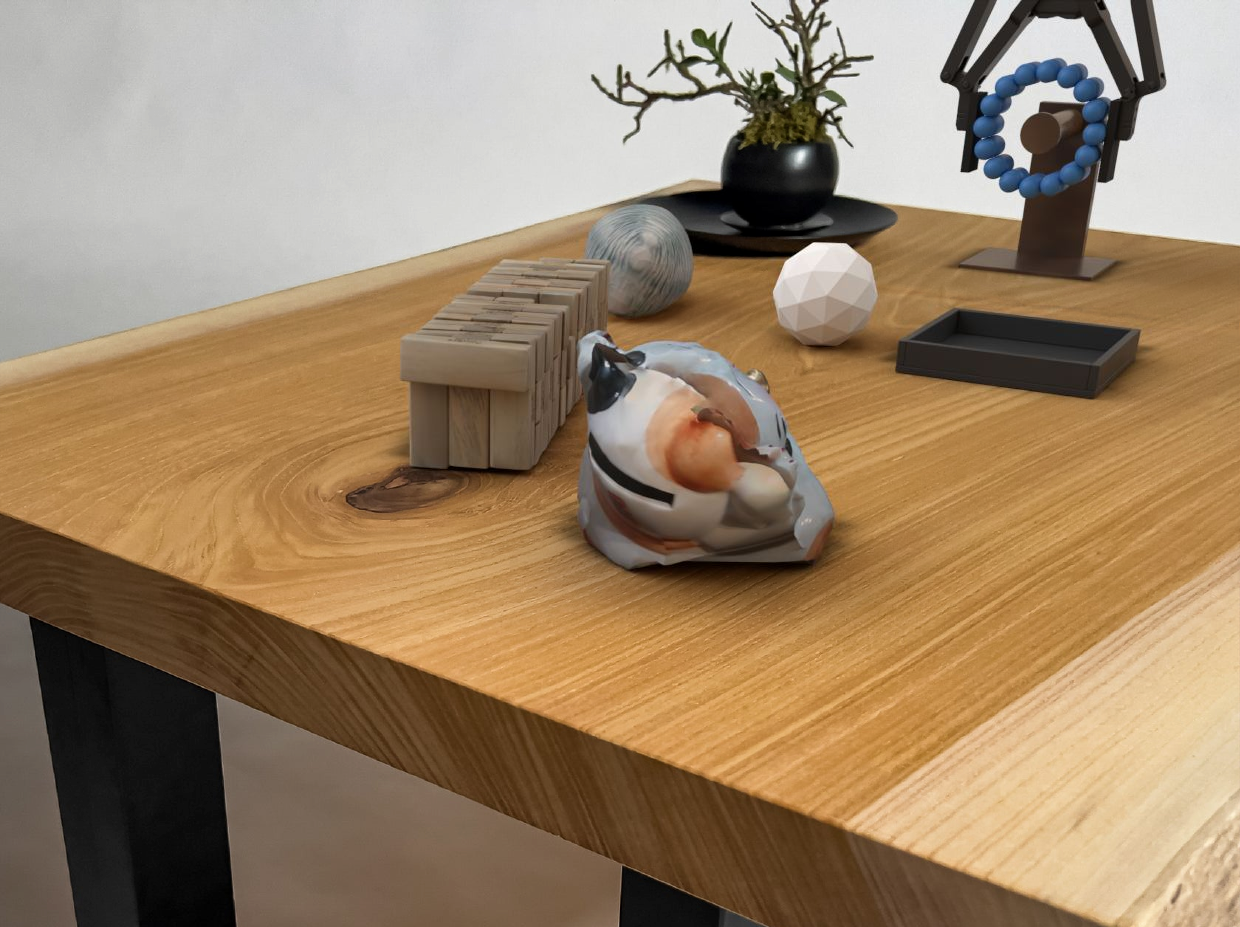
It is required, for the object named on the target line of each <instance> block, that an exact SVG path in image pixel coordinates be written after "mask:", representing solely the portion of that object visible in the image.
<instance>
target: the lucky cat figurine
mask: <svg viewBox="0 0 1240 927" xmlns="http://www.w3.org/2000/svg"><path fill="white" fill-rule="evenodd" d="M577 352H578V354H579V358H578V365H577V370H578V376H579V379H580V382H581V384H582V386H583V395H584V396H583V398H584V403H585V405H586V422H587V423H586V425H587V444H586V445H585V448H584V451H583V453H582V455H581V459H580V467H579V474H578V480H577V496H576V498H577V500H578V511H577V515H576V519H577V522H578V525H579V529H580V533H581V534H580V535H581V538H582V540H583V541H585V542H587V543H588V544H590V545H591V546H592V547H593V548H595V549H596V550H598V551H599V552H601V553H602V554H603V555H605V556H606V557H607V558H608V559H609V560H611V561H612V562H613V563H615V564H617V565H618V566H621V567H623V568H624V569H625V570H634V569H639V568H644V567H649V566H653V565H659V564H660V565H663V566H669V565H673V564H678V563H681V562H732V563H733V562H734V563H735V562H738V563H791V564H807V565H812V566H813V565H815V564H816V563H817V561H818V560H819V558H820V555H821V554H822V550H823V548H824V546H825V543H826V542H827V540H828V538H829V537H830V534H831V533H832V531H833V529H834V521H835V510H834V507H833V504H832V502H831V499H830V498H829V495H828V493H827V491H826V489H825V487H824V486H823V484H822V482H821V481H820V480H819V478H818V477H817V476H816V475H815V474H814V472H813V470H811V469H812V468H811V467H810V466H809V464H808V463H807V461H806V458H805V455H804V454H803V452H802V449H801V446H799V444H798V442H797V440H796V438H795V437H794V436H793V435H792V434H791V432H790V430H789V425H788V421H787V419H786V417H785V416H784V413H783V411H782V409H781V408H780V406H779V405H778V404H777V403H776V401H775V400H774V399H773V398H772V397H771V395H770V393H771V392H770V391H771V389H770V388H771V387H770V385H769V380H768V379H767V378H766V376H765V374H764V373H763V371H761V370H759V369H757V368H751V369H748V370H745V371H743V372H742V370H740V369H739V368H738V367H737V366H736V364H735V363H733V362H730V361H729V360H728V359H727V358H726V357H724V356H723V355H721V353H720V352H719V351H715V350H710V349H707V348H706V347H704V346H702V345H701V344H700V343H698V342H693V341H690V342H688V341H676V340H656V341H654V340H653V341H649V342H645V343H643V344H639V345H636V346H634V347H633V348H631V349H629V350H623V349H621V348H619V347H618V346H617V345H616V343H615V341H614V340H613V338H612V336H611V334H610V333H609V332H608V331H607V332H603V331H600V330H598V331H595V332H593V333H590V334H588V335H586V336H585V337H583V338H582V339H581V340H578V343H577Z"/></svg>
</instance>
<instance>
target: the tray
mask: <svg viewBox="0 0 1240 927" xmlns="http://www.w3.org/2000/svg"><path fill="white" fill-rule="evenodd" d="M1141 331H1142V329H1141V328H1132V327H1124V326H1118V325H1117V326H1116V325H1109V324H1108V325H1107V324H1100V323H1098V324H1097V323H1090V322H1081V321H1073V320H1063V319H1054V318H1046V317H1045V318H1044V317H1038V316H1029V315H1022V314H1021V315H1020V314H1012V313H1005V312H1004V313H1002V312H996V311H995V312H993V311H985V310H976V309H967V308H960V307H952V308H951V309H949V310H948V311H946V312H944V313H943V314H941V315H939V316H937V317H935V318H934V319H933V320H931V321H929V322H927V323H926V324H924V325H921V326H920V327H919V328H917V329H916V330H914V331H912V332H911V333H908V334H907V335H906V336H904V337H902V338H901V339H899V340H898V342H897V343H898V344H897V351H896V360H895V368H894V372H895V373H902V374H908V375H915V376H923V377H931V378H938V379H944V380H953V381H960V382H968V383H974V384H981V385H990V386H995V387H996V386H997V387H1004V388H1011V389H1019V390H1026V391H1033V392H1041V393H1048V394H1055V395H1063V396H1069V397H1070V396H1071V397H1075V398H1076V397H1077V398H1085V399H1092V400H1095V398H1096V397H1098V395H1100V394H1101V393H1102V392H1103V391H1104V390H1105V389H1106V388H1107V387H1108V386H1109V385H1110V384H1112V383H1113V381H1114V380H1115V379H1116V378H1118V377H1119V376H1120V375H1121V374H1122V373H1123V372H1124V371H1125V370H1126V369H1127V368H1128V367H1129V366H1130V365H1131V364H1133V363H1134V362H1135V361H1136V358H1137V353H1138V348H1139V342H1140V337H1141Z"/></svg>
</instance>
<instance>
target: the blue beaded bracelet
mask: <svg viewBox="0 0 1240 927" xmlns="http://www.w3.org/2000/svg"><path fill="white" fill-rule="evenodd" d="M1088 76H1089V70H1088V67H1087V66H1086V65H1085V64H1083V63H1079V62H1078V63H1073V64H1069V65H1068V63H1067V61H1066V60H1065V59H1064V58H1061V57H1054V58H1050V59H1046V60H1043V61H1042V62H1040V61H1037V60H1036V61H1035V60H1034V61H1031V62H1027V63H1023V64H1020V65H1019V66H1018V67H1017V68H1016V69H1015V71H1014V73H1010V74H1007V75H1003V76H1001V77H1000V78H998V79H997V81H996V82H995V84H994V92H993V93H990V94H988V95H987V96H986V97H984V99H983V100H982V102H981V105H980V108H981V111H982V113H983V114H984V115H985V116H983V117H980V118H979V119H977V120H976V122H975V123H974V127H973V130H974V133H975V135H976V136H977V137H979V138H982V139H981V140H980V141H978V143H977V144H976V146H975V150H974V151H975V155H976V157H977V158H979V161H985V163H984V165H983V168H982V170H983V174H984V176H985V177H986V178H987V179H990V180H997V179H998V186H999V189H1000V190H1001V191H1002V192H1004V193H1007V194H1010V193H1014V192H1016V191H1018V193H1019V195H1020V196H1021V197H1022V198H1024V199H1025V198H1026V199H1031V198H1034V197H1036V196H1038V195H1040V194H1042V193H1043V194H1044V195H1046V196H1054V195H1056V194H1058V193H1060V192H1062V191H1064V190H1066V189H1067V188H1068V186H1069V185H1074V184H1076V183H1078V182H1080V181H1082V180H1084V179H1086V178H1087V177H1088V175H1089V173H1090V166H1092V165H1094V164H1096V163H1098V162H1101V156H1102V150H1103V144H1104V138H1105V135H1106V126H1107V120H1108V118H1107V117H1108V114H1109V108H1110V102H1111V101H1112V99H1111V98H1109V97H1108V96H1102V95H1103V93H1104V91H1105V83H1104V81H1103V79H1101V78H1100V77H1097V76H1091V77H1088ZM1053 82H1057V84H1058V86H1059V87H1060V88H1062V89H1066V90H1067V89H1072V88H1073V91H1072V95H1073V98H1074V100H1075V101H1076V102H1077V103H1086V104H1085V106H1084V107H1083V110H1082V115H1083V118H1084V119H1085V120H1086V121H1087V122H1091V123H1092V124H1090V125H1088V126H1087V127H1086V128H1085V130H1084V132H1083V139H1084V141H1085V142H1086V143H1087V145H1084V146H1082V147H1080V148H1079V149H1078V150H1077V152H1076V154H1075V161H1073V162H1071V163H1069V164H1067V165H1065V166H1064V167H1063V168H1062V169H1061V170H1059V171H1056V172H1054V173H1051V174H1049V175H1047V176H1046V175H1045V174H1043V173H1037V174H1034V175H1032V176H1029V170H1027V168H1025V167H1022V166H1018V167H1015V160H1014V158H1013V157H1012V156H1011V155H1010V154H1008V153H1003V152H1004V151H1005V149H1006V140H1005V139H1004V138H1003V137H1002V136H1001V135H998V134H1000V133H1001V132H1002V131H1003V130H1004V127H1005V119H1004V117H1003V115H1002V114H1004V113H1007V111H1009V110H1010V108H1011V106H1012V104H1013V103H1012V102H1013V101H1012V100H1013V99H1012V97H1016V96H1019V95H1020V94H1022V93H1023V92H1024V91H1025V89H1026V87H1028V86H1032V85H1036V84H1039V83H1043V84H1050V83H1053ZM1105 118H1107V120H1102V119H1105ZM1102 142H1103V144H1102ZM1014 167H1015V168H1014Z"/></svg>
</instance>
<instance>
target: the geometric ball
mask: <svg viewBox="0 0 1240 927" xmlns="http://www.w3.org/2000/svg"><path fill="white" fill-rule="evenodd" d="M781 268H782V269H781V270H780V273H779V276H778V278H777V281H776V283H775V286H774V288H773V291H772V297H773V301H774V305H775V309H776V315H777V318H778V323H779V325H780V326H781V327H782V328H783V329H784V330H786V331H787V332H788V333H789V334H790V335H792V336H793V337H794V338H795V339H796V340H798V341H799V342H800V343H801V344H802V345H804V346H817V347H818V346H819V347H820V346H821V347H825V346H826V347H838V346H839V345H841V344H843V343H844V342H846V341H847V340H849V339H850V338H852V337H854V335H855V336H856V335H857V334H858V333H859V332H861V331H863V330H864V329H865V328H866V326H867V323H868V322H869V319H870V317H871V315H872V312H873V310H874V307H875V305H876V303H877V300H878V298H879V294H878V289H877V286H876V281H875V277H874V271H873V266H872V264H871V263H870V262H869V261H868V259H866V258H864V257H863V256H862V255H861V254H860V253H859V252H857V251H856V250H855V249H854V248H852V247H851V246H850V245H849V244H848V243H842V242H840V243H839V242H812V243H811V244H809V245H808V246H806V247H804V248H803V249H801V250H800V251H799V252H797V253H796V254H794V255H792V256H791V257H789V258H788V259H787V260H785V261H784V263H783V266H782V267H781Z"/></svg>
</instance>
